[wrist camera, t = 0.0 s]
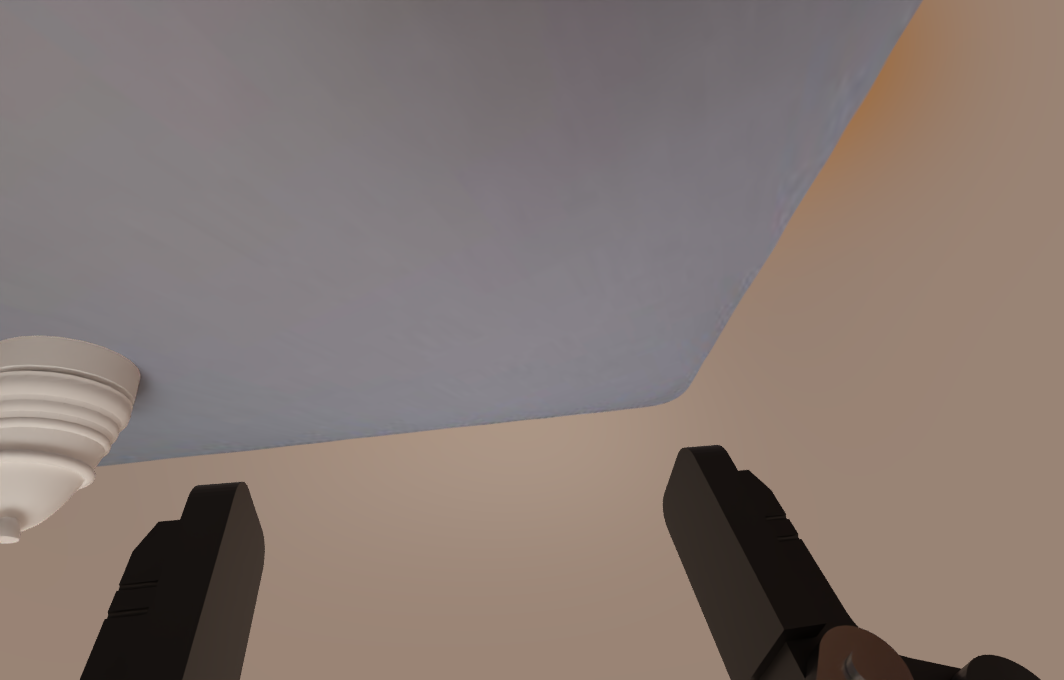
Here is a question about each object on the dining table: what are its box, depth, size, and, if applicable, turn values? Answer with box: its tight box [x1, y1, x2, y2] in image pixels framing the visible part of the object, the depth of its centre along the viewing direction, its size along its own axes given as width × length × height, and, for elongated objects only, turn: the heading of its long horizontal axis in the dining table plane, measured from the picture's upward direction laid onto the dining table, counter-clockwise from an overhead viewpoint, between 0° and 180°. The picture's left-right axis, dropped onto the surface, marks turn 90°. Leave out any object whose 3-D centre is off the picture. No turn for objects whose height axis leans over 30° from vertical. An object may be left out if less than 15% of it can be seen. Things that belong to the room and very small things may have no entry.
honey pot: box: [0, 336, 141, 544], centre depth 56 cm, size 13×13×18 cm
